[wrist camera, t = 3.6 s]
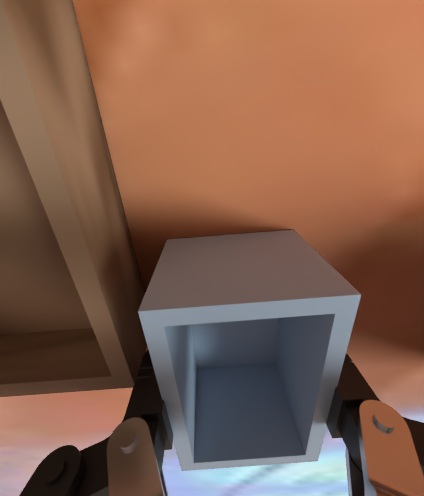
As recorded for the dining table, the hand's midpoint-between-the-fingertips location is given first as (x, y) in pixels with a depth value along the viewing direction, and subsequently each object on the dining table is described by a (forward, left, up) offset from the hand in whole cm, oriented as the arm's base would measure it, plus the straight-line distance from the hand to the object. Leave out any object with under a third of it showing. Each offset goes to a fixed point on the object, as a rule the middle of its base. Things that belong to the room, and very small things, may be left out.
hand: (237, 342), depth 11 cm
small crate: (-1, 0, -2) cm, 2 cm away
